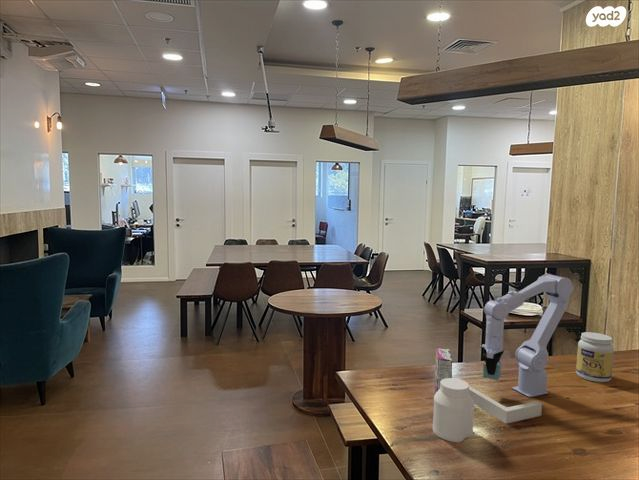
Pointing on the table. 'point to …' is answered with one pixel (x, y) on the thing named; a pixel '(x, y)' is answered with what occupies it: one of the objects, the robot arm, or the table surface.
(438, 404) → the jar
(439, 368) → the candy bar box
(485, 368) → the cube
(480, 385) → the table surface
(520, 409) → the white l-shaped block
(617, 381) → the table surface
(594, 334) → the supplement tub
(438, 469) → the table surface
